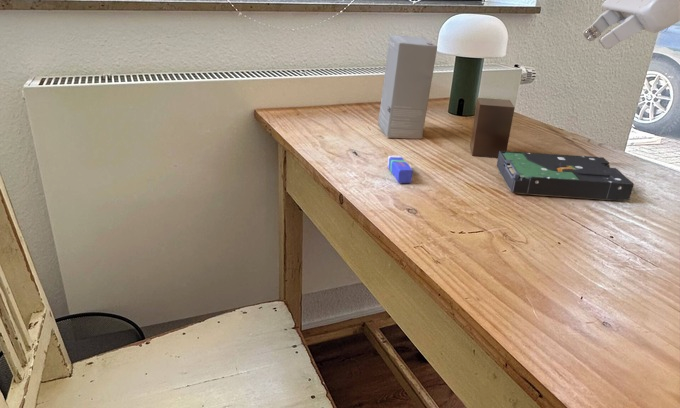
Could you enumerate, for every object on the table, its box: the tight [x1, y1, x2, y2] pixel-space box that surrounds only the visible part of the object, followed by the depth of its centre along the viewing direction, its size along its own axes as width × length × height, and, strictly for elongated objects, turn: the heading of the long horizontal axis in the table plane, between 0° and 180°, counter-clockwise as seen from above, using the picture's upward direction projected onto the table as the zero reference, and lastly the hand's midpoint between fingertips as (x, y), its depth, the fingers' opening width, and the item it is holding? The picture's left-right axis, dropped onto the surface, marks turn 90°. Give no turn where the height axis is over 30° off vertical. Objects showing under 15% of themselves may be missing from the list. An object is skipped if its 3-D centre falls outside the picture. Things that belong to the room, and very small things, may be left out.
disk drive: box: [496, 150, 635, 201], centre depth 69 cm, size 10×3×15 cm
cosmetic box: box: [377, 34, 438, 140], centre depth 86 cm, size 8×7×16 cm
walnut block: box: [469, 97, 515, 159], centre depth 79 cm, size 5×5×8 cm
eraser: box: [387, 154, 414, 184], centre depth 69 cm, size 2×6×2 cm, turn 8°
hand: (593, 41), depth 73 cm, fingers open, 8 cm apart
